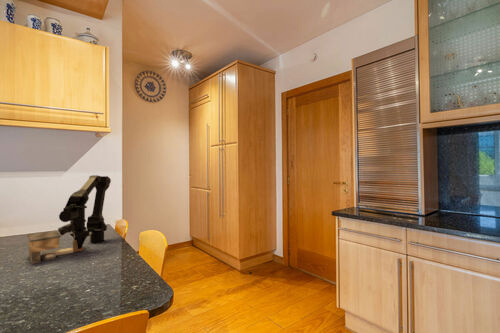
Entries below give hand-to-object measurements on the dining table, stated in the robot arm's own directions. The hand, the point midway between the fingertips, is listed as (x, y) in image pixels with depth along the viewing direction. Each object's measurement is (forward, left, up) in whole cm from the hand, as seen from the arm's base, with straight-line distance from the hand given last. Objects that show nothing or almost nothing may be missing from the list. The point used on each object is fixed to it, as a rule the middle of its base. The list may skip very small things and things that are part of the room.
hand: (78, 247), depth 131 cm
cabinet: (+14, -1, -2) cm, 14 cm away
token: (+12, +3, -2) cm, 13 cm away
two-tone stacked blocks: (+6, -1, -1) cm, 7 cm away
